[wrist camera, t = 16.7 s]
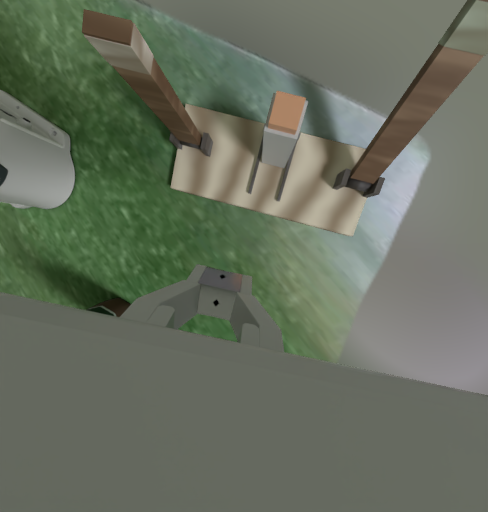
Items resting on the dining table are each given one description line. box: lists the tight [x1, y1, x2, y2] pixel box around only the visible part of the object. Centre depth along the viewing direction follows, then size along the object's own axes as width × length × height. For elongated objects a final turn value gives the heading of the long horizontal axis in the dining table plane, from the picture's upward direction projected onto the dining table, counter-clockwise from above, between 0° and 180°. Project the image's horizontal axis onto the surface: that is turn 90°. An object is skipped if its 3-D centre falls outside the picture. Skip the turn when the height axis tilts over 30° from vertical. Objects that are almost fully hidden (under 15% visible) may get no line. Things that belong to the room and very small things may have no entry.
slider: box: [262, 91, 308, 168], centre depth 25 cm, size 4×4×11 cm
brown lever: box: [82, 9, 202, 150], centre depth 21 cm, size 2×4×18 cm, turn 75°
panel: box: [169, 104, 385, 236], centre depth 30 cm, size 34×14×5 cm, turn 75°
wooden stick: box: [344, 0, 488, 192], centre depth 22 cm, size 2×4×18 cm
